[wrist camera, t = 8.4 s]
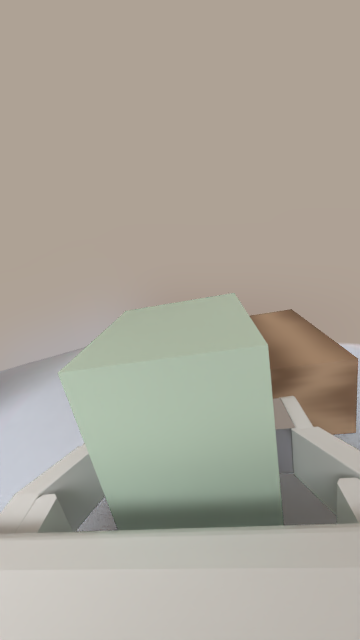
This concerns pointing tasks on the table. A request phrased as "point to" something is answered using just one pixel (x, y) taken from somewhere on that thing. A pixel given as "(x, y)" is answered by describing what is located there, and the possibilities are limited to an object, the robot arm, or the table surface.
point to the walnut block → (311, 370)
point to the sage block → (180, 417)
